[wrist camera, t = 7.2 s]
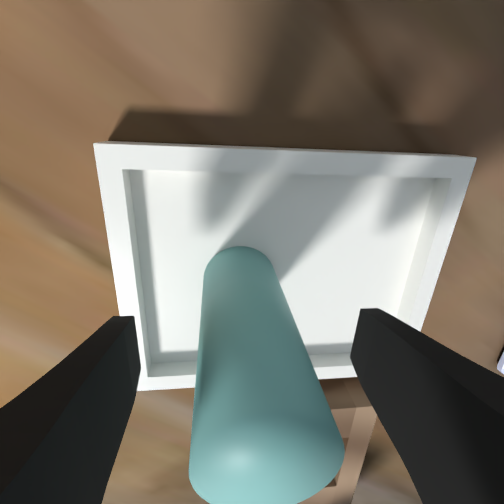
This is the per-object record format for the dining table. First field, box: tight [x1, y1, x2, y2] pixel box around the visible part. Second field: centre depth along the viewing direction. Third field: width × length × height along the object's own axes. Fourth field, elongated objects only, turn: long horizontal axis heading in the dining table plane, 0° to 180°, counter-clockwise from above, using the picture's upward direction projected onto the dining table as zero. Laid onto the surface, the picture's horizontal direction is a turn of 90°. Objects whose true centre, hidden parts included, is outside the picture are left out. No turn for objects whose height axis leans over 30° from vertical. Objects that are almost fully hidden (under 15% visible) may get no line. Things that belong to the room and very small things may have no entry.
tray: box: [93, 141, 477, 391], centre depth 13 cm, size 14×11×1 cm
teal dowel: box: [189, 246, 345, 504], centre depth 10 cm, size 3×3×8 cm
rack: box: [297, 377, 377, 504], centre depth 20 cm, size 18×7×2 cm, turn 177°
